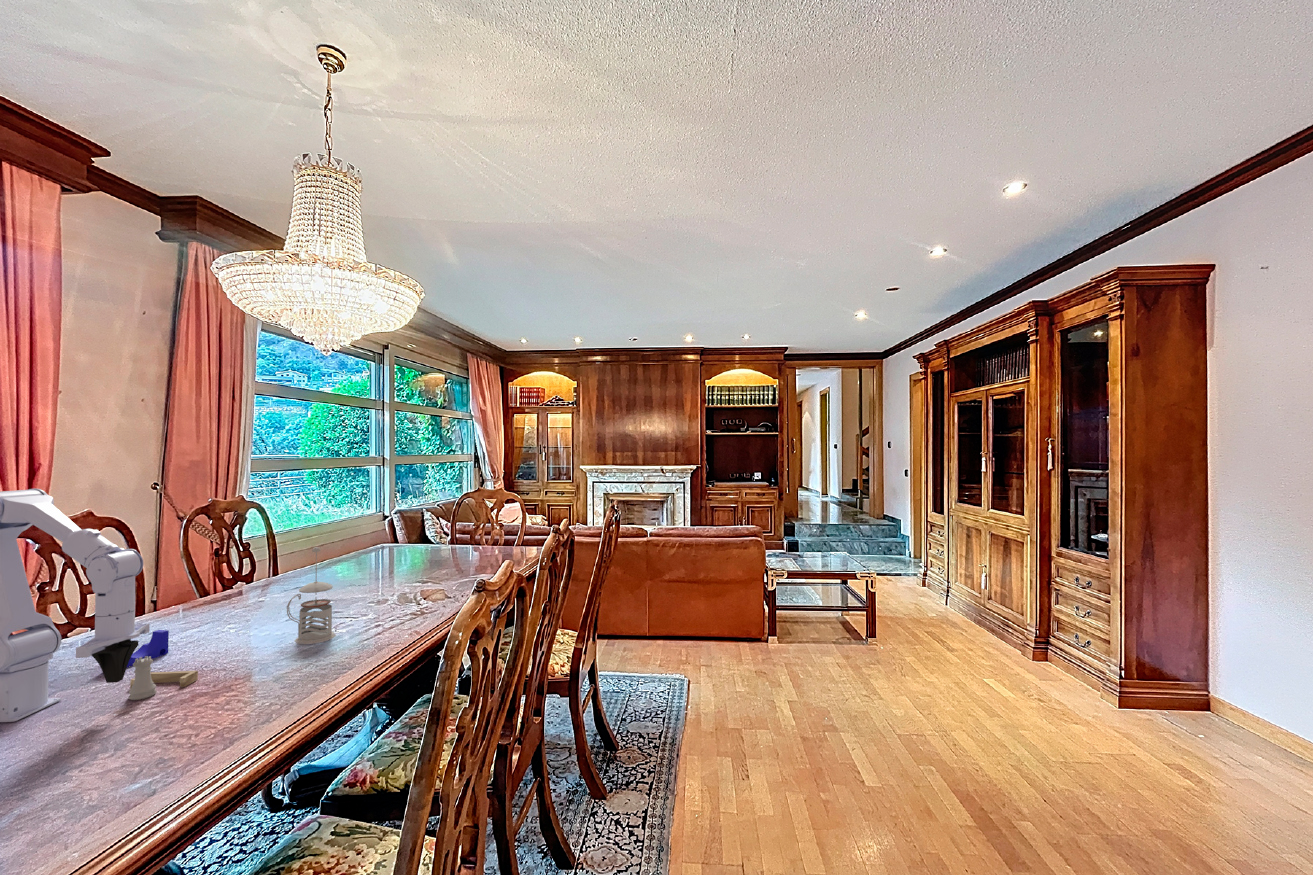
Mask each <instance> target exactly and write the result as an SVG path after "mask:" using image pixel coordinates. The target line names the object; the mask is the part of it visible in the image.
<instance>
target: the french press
mask: <svg viewBox="0 0 1313 875" xmlns="http://www.w3.org/2000/svg"><path fill="white" fill-rule="evenodd" d="M313 552H315V581H313V582H309V583H307V584H305V585H304V586H302V587H300V588H299V589H298V591H299V593H297V594H295V595H294V596H293V597H291V599H289V601H288V603H287V606H286V615H287V617H288V618H289V620H291V621H292V622H295V623H297V624H298V626H297V627H298V630H297V631H298V632H297V633H298V635H297V637H296V639H294V643H295V642H296V643H295V644H299V645H310V644H311V645H312V644H319V643H323V642H326V641H330V640H331V639H334V638H335V637H336V636H337V635H336V633H335V632H334V631H333V628H332V627H333V626H332V625H333V624H332V622H333V620H332V619H333V615H332V614H333V612H332V611H333V606H332V605H331V599H328V598H327V599H326V598H320V599H319V598H318V599H317V598H315V599H310V600H307V601H303V602H302V603H300V607H301V608H300V609H299V619H297V618H295V617H294V616H292V614H291V612H290V605H291V602H292V600H293V599H295V598H297V597H298V600H299V601H300V600H301V599H302V594H311V593H312V594H316V593H321V592H327V591H330V590H332V589H333V587H334V585H332V584H330V583H328V582H324V581H317V580H318V577H317V571H318V570H317V568H318V565H317V564H318V563H317V562H318V560H317V558H318V557H317V556H318V555H317V554H318V552H321V548H320V547H319V546H315V547H313V548H312V553H313ZM301 593H302V594H301ZM314 609H316V610H314ZM312 610H313V611H312ZM319 619H321V620H319ZM315 623H316V624H315ZM317 623H318V624H317ZM321 624H322V625H321ZM329 639H330V640H329ZM318 642H319V643H318Z"/></svg>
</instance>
